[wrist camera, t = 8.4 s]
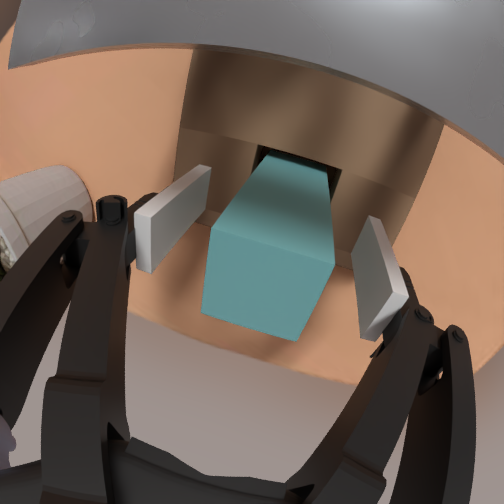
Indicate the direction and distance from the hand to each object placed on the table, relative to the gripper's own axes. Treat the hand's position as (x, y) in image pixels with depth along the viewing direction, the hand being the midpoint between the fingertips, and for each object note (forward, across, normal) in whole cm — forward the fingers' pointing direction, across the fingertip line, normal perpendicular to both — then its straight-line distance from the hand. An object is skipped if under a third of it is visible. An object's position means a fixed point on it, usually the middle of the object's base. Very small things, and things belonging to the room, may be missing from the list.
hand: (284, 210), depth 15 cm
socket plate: (+5, 0, +4) cm, 6 cm away
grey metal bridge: (+5, 0, +10) cm, 11 cm away
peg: (+5, 0, 0) cm, 5 cm away
